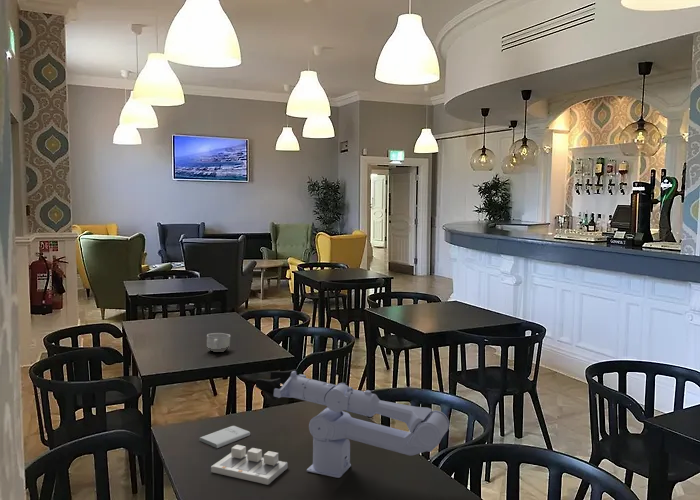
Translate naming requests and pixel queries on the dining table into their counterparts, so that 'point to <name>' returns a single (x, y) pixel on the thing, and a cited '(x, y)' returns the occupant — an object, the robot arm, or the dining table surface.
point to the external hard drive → (224, 436)
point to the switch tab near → (271, 458)
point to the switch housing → (249, 469)
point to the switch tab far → (238, 451)
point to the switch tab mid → (254, 454)
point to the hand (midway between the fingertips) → (263, 379)
